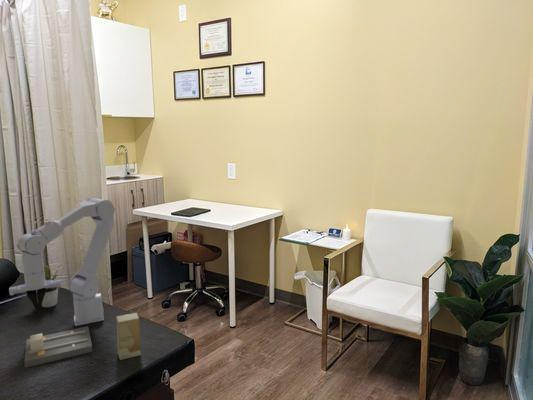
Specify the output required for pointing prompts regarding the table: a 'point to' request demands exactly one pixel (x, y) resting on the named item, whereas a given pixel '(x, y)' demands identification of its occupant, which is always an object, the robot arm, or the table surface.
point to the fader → (36, 341)
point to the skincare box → (128, 336)
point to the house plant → (50, 291)
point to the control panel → (59, 346)
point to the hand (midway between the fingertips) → (38, 311)
